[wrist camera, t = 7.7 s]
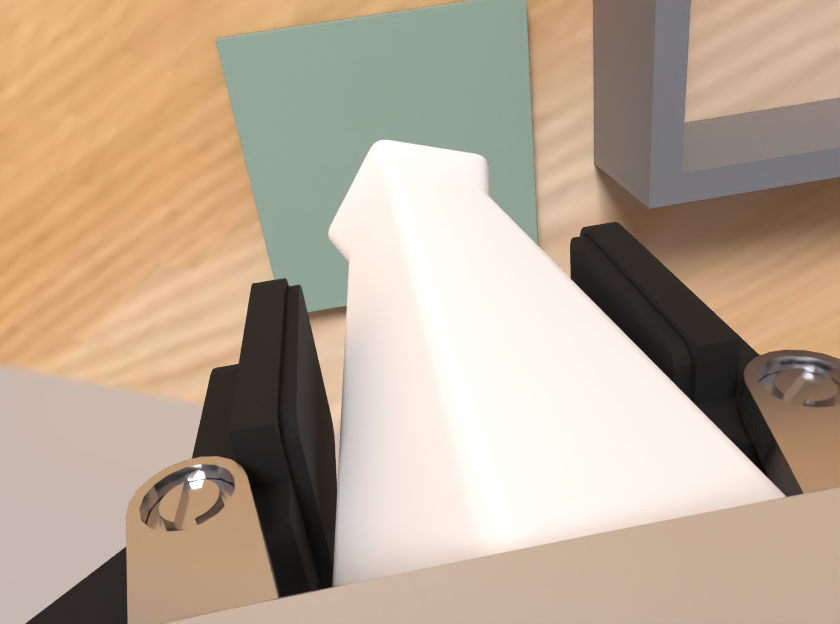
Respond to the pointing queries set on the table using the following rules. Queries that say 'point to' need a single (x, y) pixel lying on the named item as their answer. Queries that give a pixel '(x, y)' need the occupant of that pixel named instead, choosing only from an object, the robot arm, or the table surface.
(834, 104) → the bin
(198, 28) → the table surface
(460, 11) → the mat
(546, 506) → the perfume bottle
